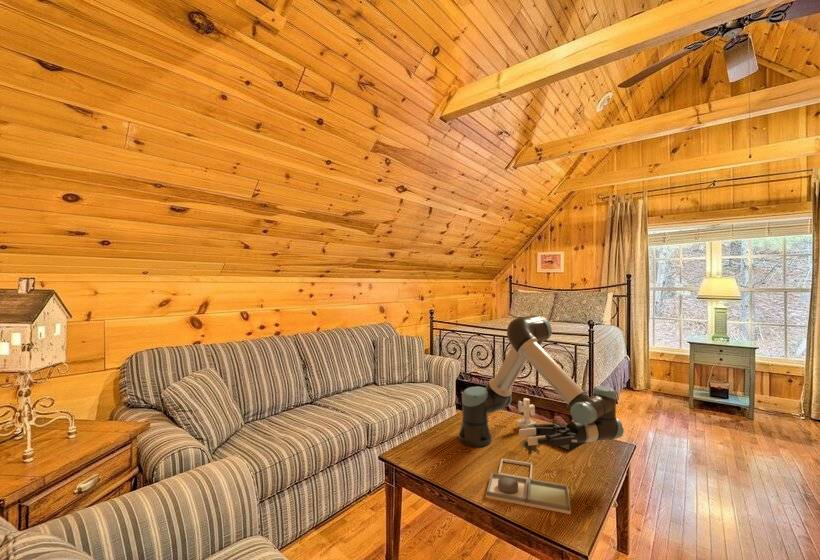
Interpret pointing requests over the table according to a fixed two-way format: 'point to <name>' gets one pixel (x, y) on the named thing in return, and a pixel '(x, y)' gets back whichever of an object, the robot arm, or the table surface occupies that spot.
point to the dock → (529, 492)
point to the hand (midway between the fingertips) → (523, 437)
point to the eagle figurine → (530, 448)
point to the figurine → (526, 414)
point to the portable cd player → (566, 447)
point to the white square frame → (516, 463)
